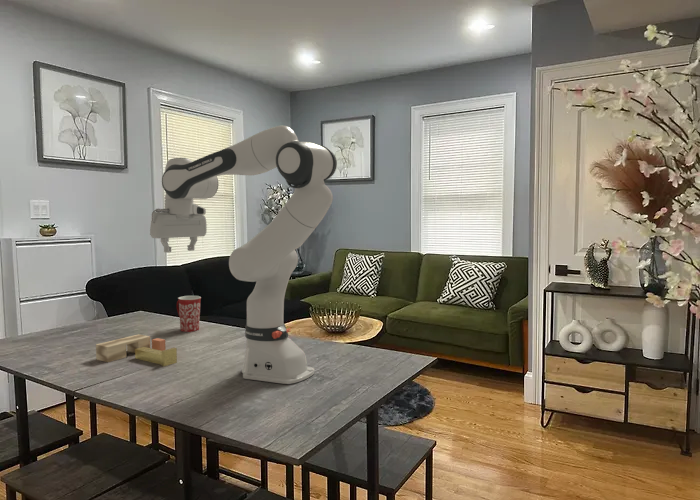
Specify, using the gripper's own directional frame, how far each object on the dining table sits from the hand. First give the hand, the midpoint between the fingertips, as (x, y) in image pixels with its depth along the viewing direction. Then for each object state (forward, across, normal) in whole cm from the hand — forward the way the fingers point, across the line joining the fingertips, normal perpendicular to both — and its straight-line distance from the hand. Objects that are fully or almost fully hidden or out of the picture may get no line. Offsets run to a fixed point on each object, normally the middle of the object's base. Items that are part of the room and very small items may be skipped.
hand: (179, 251), depth 160 cm
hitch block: (+36, -8, +18) cm, 41 cm away
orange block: (+36, +1, +12) cm, 37 cm away
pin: (+36, -7, +5) cm, 36 cm away
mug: (+36, +29, +30) cm, 55 cm away
